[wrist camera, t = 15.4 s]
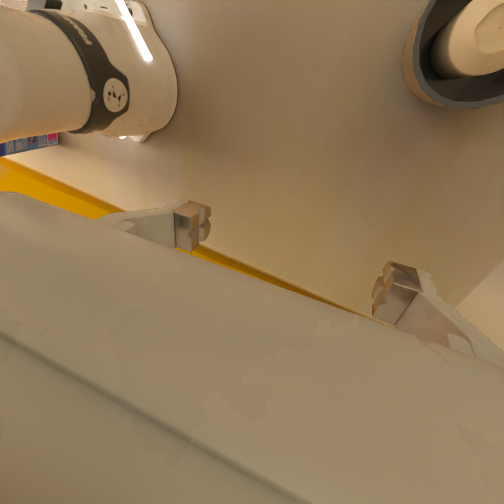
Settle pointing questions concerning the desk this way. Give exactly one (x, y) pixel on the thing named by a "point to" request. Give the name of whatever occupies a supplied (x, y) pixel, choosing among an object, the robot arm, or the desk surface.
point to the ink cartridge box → (28, 144)
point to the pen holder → (423, 76)
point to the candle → (471, 41)
